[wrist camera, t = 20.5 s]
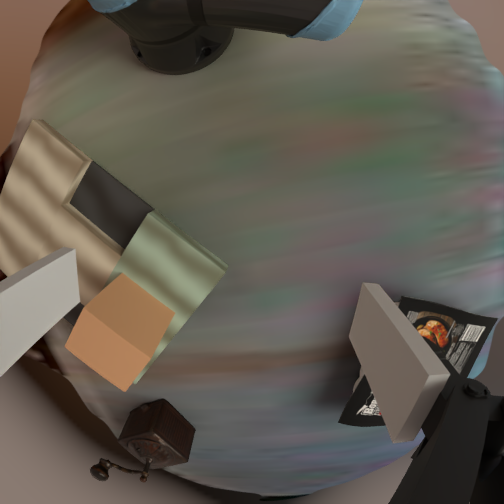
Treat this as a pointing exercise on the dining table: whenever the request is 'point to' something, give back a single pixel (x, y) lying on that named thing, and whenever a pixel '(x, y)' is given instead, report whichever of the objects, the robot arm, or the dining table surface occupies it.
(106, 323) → the terracotta block
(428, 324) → the food packaging
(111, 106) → the dining table surface
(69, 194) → the board
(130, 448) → the brown manual coffee grinder
